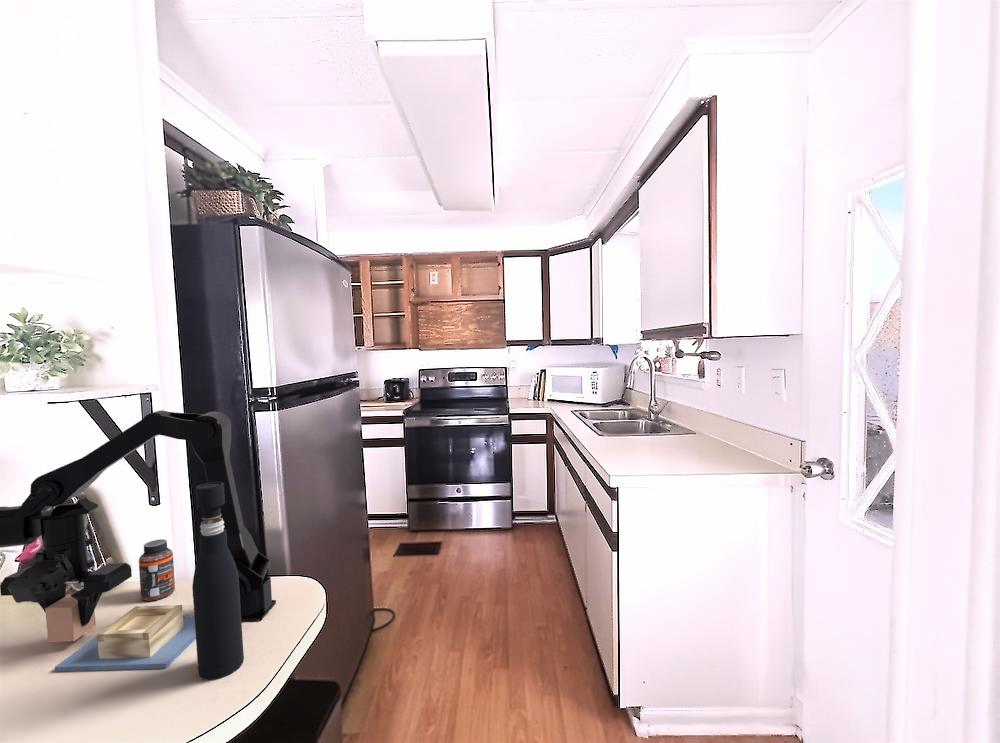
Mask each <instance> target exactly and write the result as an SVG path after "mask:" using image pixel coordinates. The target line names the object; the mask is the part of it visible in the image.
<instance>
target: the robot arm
mask: <svg viewBox="0 0 1000 743" xmlns="http://www.w3.org/2000/svg"><path fill="white" fill-rule="evenodd" d="M157 436H164V437H168V438H171V439H175V440H182V441H183V440H184V441H189V443H190V445H191V448H192V450H193V452H194V453H195V455H196V457H198V459H199V460H200V462H201V463H202V465H203V467H204V472H205V477H206V483H209V482H222V483H224V497H225V503H224V504H223V505H221V506H220V511H221V517H220V518H222V519H223V521H224V524H223V525H224V526H225V527H224V528H223V529H225V530H226V534H227V547H228V549H229V551H230V553H231V555H232V557H233V559H234V561H235V564H236V567H237V571H238V575H239V590H240V606H241V622H243V621H244V622H247V621H248V622H250V621H251V622H253V621H261V620H263V619H264V618H265V617H266V616H267V614H268V613H269V612H270V610H272V608H273V607H274V606H275V605H276V603H277V600H276V599H273V596H272V579H271V576H267V575H266V574H267V571H268V570H269V567H270V564H271V559H270V558H268V557H266V556H265V555H264V554H263V553H261V552H259V550H258V547H257V546H256V543H255V540H254V538H253V536H252V534H251V533H250V532H249V531H248V529H247V528H246V527H245V525H244V521H243V520H244V519H243V516H242V511H241V510H242V509H241V506H240V501H239V497H238V490H237V487H236V482H235V478H234V472H233V468H232V463H231V458H230V452H231V446H232V422H231V420H230V418H229V417H228V415H227V414H225V413H223V412H220V411H209V412H206V413H204V414H203V413H201V414H200V413H192V412H191V413H190V412H174V411H173V412H172V411H167V410H162V409H161V410H157V411H154V412H153V411H152V412H150V413H147V414H146V415H144V417H143V418H142V419H140V420H139V421H137V422H136V423H134V424H133V425H132V426H130V427H128V428H126V429H125V430H124V431H122V432H120V433H119V434H117V435H115V436H114V437H113V438H111V439H110V440H108V441H107V442H105V443H103V444H102V445H100V446H98V447H97V448H95V449H93V451H91V452H89V453H88V454H86V455H85V456H83V457H81V458H79V459H77V460H73V461H72V462H69V463H67V464H64V465H62V466H60V467H58V468H55V469H53V470H51V471H48V472H46V473H44V474H41V475H40V476H37V477H36V478H35V479H34V480H33V481H32V482H31V484H30V490H29V492H30V493H29V495H28V496H27V497H26V499H25V500H24V502H22V504H21V505H17V506H0V548H2V549H3V548H9V547H17V546H18V547H20V546H25V545H26V546H27V545H31V544H33V543H35V541H36V540H37V539H38V538H40V537H41V544H42V545H41V546H42V549H41V550H39V551H37V552H35V556H34V563H33V564H32V565H28V566H26V567H25V568H22V569H20V570H18V571H15V572H13V573H11V574H10V575H7V576H6V577H4V579H3V580H2V582H1V583H0V597H1V596H2V597H3V596H5V597H6V596H11V597H12V598H13V601H14V602H15V603H17V604H21V603H23V602H24V603H25V602H28V603H29V602H32V603H37V604H38V605H39V606H40V607H41V608H42V610H43V612H44V613H45V614H46V612H45V608H47V607H48V606H50V605H52V604H53V603H55V602H57V601H59V600H60V599H62V598H64V597H65V596H67V594H66V592H67V585H71V584H73V585H74V584H80V589H79V590H77V591H76V592H74V593H73V594H70V595H71V597H73V598H75V599H77V600H78V607H79V615H80V621H81V625H82V626H85V625H86V624H88V623H89V621H90V619H91V617H92V614H93V612H95V610H96V607H97V605H98V604H99V603H98V602H99V600H100V599H101V598H102V597H101V596H102V595H103V593H107V592H110V591H111V590H113V589H114V588H116V587H117V586H119V585H121V584H123V583H125V581H127V580H129V579H130V578H132V576H133V574H132V566H131V565H130V564H129V563H127V562H117V563H116V562H115V563H113V562H112V563H106V564H105V565H102V566H101V567H99V568H97V569H96V570H92V571H91V570H90V571H89V569H90V568H93V567H94V566H95V560H94V559H90V560H89V559H88V548H87V547H89V546H91V545H93V538H91V537H90V538H87V535H86V523H85V515H87V514H90V513H91V512H93V511H95V510H96V509H98V508H99V504H98V503H96V502H94V501H91V500H90V499H88V498H87V497H83V498H81V499H79V500H78V501H77V502H75V503H73V502H72V503H66V504H65V502H67V501H69V500H71V499H73V498H74V497H78V495H81V494H82V493H84V491H86V490H87V488H89V487H90V486H91V485H92V484H93V483H94V482H95V481H96V480H97V479H98V478H99V477H100V476H101V475H102V474H103V473H104V472H105V471H106V470H107V469H108V468H111V466H113V465H115V464H117V462H119V461H121V460H122V459H124V458H125V457H127V456H128V455H130V454H131V453H133V452H135V451H136V450H137V449H139V448H141V447H142V446H144V445H145V444H147V443H148V442H150V441H151V440H153V439H154V438H156V437H157ZM63 503H64V504H63ZM49 507H50V508H53V509H49V510H45V509H47V508H49Z"/></svg>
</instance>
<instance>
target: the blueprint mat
mask: <svg viewBox="0 0 1000 743" xmlns="http://www.w3.org/2000/svg"><path fill="white" fill-rule="evenodd" d="M183 625H184V627H183V628H182V629H181V630H180V631H179V632H178V633H177V634H175V635H174V636H173V637H172V638H171V639H170V640H169V641H168V642H167V643H166V644H164V645H163V646H162V647H161V648H160V649H159V650H158V651H157V652H156V653H154V654H153V655H152V656H151V657H142V658H110V659H99V652H98V640H97V635H96V636H95V637H94V638H92V639H90V641H88V642H87V643H85V644H84V645H82V646H81V647H80V648H78V649H77V650H75V651H74V652H73V653H72V654H70V655H69V656H68V657H66V658H64V659H63V660H62V661H61V662H59V663H58V664H57V665H55V666H54V672H55V673H59V672H61V673H63V672H87V671H88V672H89V671H90V672H91V671H94V672H95V671H119V670H121V671H122V670H123V671H124V670H149V669H153V670H154V669H167V668H168V667H169V666H170V665H171V664H172V663H173V662H175V660H177V658H178V657H179V656H180V655H182V653H184V651H186V649H187V648H188V647H189V646H190V645H191V644H192V643H193V642H195V641H196V632H195V618H194V615H183ZM174 659H175V660H174Z"/></svg>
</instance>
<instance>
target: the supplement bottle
mask: <svg viewBox="0 0 1000 743" xmlns="http://www.w3.org/2000/svg"><path fill="white" fill-rule="evenodd" d="M167 541H168V540H167V539H161V538H160V539H154V540H150V541H148V542H145V543H144V544H143V553H142V554H141V555H140V556H139V557H138V558H139V559H138V569H139V570H138V571H139V572H138V573H139V587H140V588H139V589H140V598H141V600H143V601H148V602H150V601H157V600H162V599H164V598H167V597H169V596H170V595H171V594H173V593H174V592H175V589H176V581H175V579H176V577H175V565H174V563H175V561H174V553H173V552H174V551H173V550H172V549H171V548H169V547H168V542H167Z"/></svg>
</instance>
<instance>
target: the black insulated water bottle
mask: <svg viewBox="0 0 1000 743" xmlns="http://www.w3.org/2000/svg"><path fill="white" fill-rule="evenodd" d="M194 489H195V503H196V508H197V509H199V510H201V520H203V521H201V523H200V526H199V529H200V531H199V532H200V534H199V536H198V543H199V555H198V558H197V561H196V565H195V567H194V572H193V577H192V578H193V579H192V587H191V588H192V599H193V600H192V601H193V614H194V615H193V616H194V618H195V632H196V639H195V643H196V644H195V645H196V655H197V656H196V657H197V658H196V660H197V671H198V677H199V678H201V679H202V680H206V681H212V680H213V681H214V680H217V679H221V678H224V677H226V676H229V675H231V674H233V673H234V672H236V671H237V670H238V669H239V668H240V667H241V666H242V665H243V663H244V661H245V660H244V659H245V657H244V656H245V655H244V640H243V626H242V624H243V623H242V622H243V621H241V606H240V590H239V575H238V571H237V567H236V564H235V561H234V559H233V557H232V555H231V553H230V551H229V549H228V547H227V534H226V530H225V529H223V528H224V527H225V526H224V525H223V524H224V521H223V519H222V518H220V517H221V511H220V506H221V505H223V504H224V503H225V497H224V483H222V482H209V483H208V482H205V483H201V484H198V485H197V486H196V487H195V488H194Z"/></svg>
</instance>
